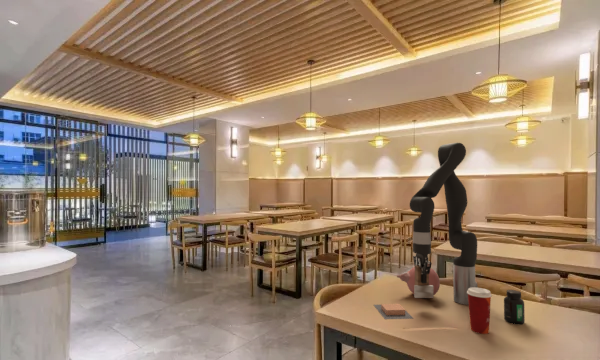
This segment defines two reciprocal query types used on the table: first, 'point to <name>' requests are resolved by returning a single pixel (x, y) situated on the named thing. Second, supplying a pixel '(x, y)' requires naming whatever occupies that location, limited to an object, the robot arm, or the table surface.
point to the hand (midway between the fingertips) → (421, 281)
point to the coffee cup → (479, 309)
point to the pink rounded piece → (410, 280)
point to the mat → (406, 316)
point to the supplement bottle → (514, 308)
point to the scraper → (422, 285)
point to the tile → (393, 309)
